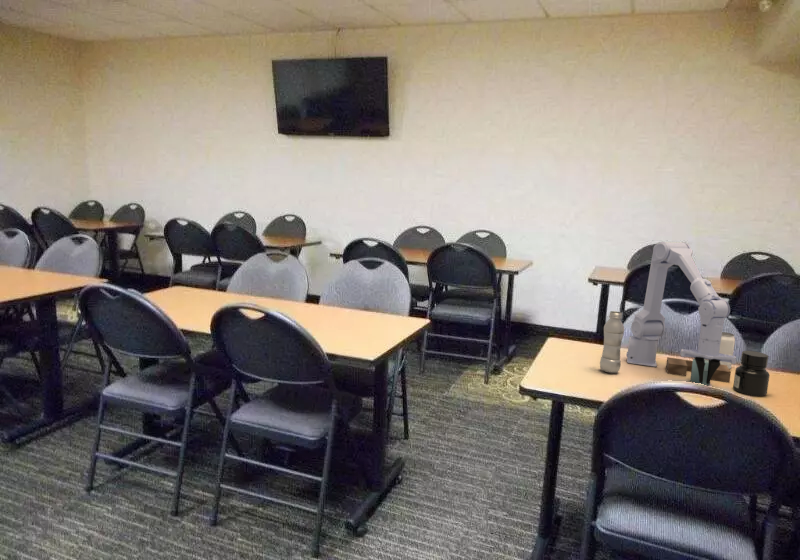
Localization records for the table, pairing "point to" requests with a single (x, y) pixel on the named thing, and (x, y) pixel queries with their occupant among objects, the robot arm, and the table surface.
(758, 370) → the ink bottle
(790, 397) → the table surface
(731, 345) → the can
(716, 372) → the rack
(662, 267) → the robot arm
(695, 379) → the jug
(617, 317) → the plastic bottle
